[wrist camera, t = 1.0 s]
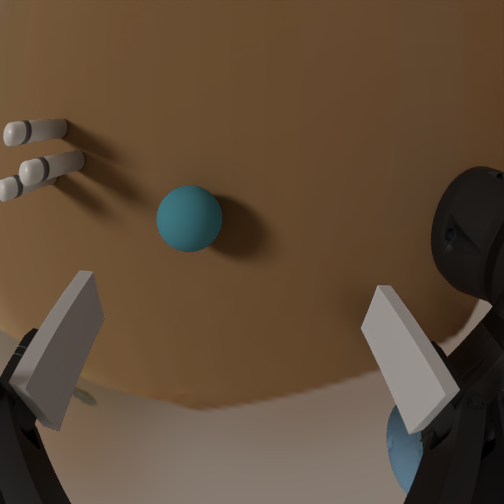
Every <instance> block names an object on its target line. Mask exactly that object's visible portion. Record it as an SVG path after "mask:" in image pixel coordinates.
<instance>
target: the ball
mask: <svg viewBox="0 0 504 504" xmlns="http://www.w3.org/2000/svg"><path fill="white" fill-rule="evenodd" d="M157 226H158V230H159V232H160V235H161V236H162V238H163V239H164V240H165V242H166V243H167V244H169V245H170V246H171V247H173V248H175V249H177V250H180V251H184V252H194V251H199V250H202V249H204V248H206V247H207V246H209V245H210V244H211V243H212V242H213V241H214V240H215V239H216V237H217V236H218V234H219V232H220V229H221V226H222V211H221V207H220V205H219V203H218V201H217V200H216V198H215V197H214V196H213V195H212V194H211V193H210V192H208V191H207V190H205V189H203V188H201V187H197V186H183V187H179V188H177V189H175V190H173V191H171V192H170V193H169V194H168V195H167V196H166V197H165V198H164V199H163V201H162V202H161V204H160V206H159V209H158V213H157Z"/></svg>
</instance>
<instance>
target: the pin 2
mask: <svg viewBox="0 0 504 504" xmlns="http://www.w3.org/2000/svg"><path fill="white" fill-rule="evenodd" d="M56 180H57V177H54V178H51V179H48V180H45V181H43V182H40V183H36V184H33V185H30V186H24V185H23V184H22V182H21V180H20V177H19V174H18V175H13V176H10V177H8V178H5V179H2V180H0V200H1V201H2V202H6V201H8V200H11V199H14V198H17V197H19V196H21V195H23V194H26V193H29V192H31V191H34V190H37V189H40V188H42V187H45V186H48V185H51V184H54V183H55V182H56Z"/></svg>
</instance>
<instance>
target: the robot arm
mask: <svg viewBox="0 0 504 504" xmlns="http://www.w3.org/2000/svg"><path fill="white" fill-rule="evenodd" d="M431 247H432V254H433V258H434V262H435V264H436V267H437V269H438V270H439V272H440V273H441V275H442V276H443V277H444V278H445V279H446V280H447V281H448V282H449V283H450V284H451V285H452V286H453V287H454V288H456V289H457V290H459V291H461V292H464V293H466V294H469V295H472V296H474V297H477V298H480V299H482V300H485V301H488V302H489V303H490V304H491V305H492V306H493V307H492V308H491V309H490V311H489V312H488V313H487V314H486V316H485V317H484V318H483V319H482V320H481V321H480V322H479V324H478V325H477V326H476V327H475V328H474V329H473V330H472V332H471V333H470V334H469V335H468V336H467V337H466V338H465V339H464V340H463V341H462V343H461V344H460V345H459V346H458V347H457V348H456V349H455V350H454V351H453V352H452V353H451V354H450V355H449V356H448V357H447V356H446V355H445V353H444V351H443V350H442V348H441V347H439V346H438V345H437V344H436V343H435V342H434V341H429V339H428V338H427V336H426V335H425V333H424V332H423V330H422V329H421V327H420V326H419V325H418V323H417V322H416V320H415V319H414V317H413V316H412V314H411V313H410V312H409V310H408V309H407V307H406V306H405V305H404V303H403V302H402V301H401V299H400V298H399V296H398V295H397V294H396V292H395V291H394V290H393V288H392V287H391V286H390V285H378V286H377V288H376V291H375V294H374V296H373V299H372V302H371V304H370V307H369V309H368V312H367V314H366V317H365V319H364V322H363V324H362V327H361V330H362V332H363V334H364V336H365V338H366V340H367V342H368V344H369V346H370V348H371V350H372V352H373V354H374V357H375V359H376V361H377V363H378V365H379V367H380V369H381V371H382V374H383V376H384V378H385V380H386V382H387V385H388V387H389V389H390V391H391V393H392V396H393V398H394V400H395V403H396V405H395V407H394V408H393V410H392V412H391V414H390V417H389V420H388V425H387V447H388V453H389V454H388V455H389V459H390V463H391V467H392V470H393V472H394V475H395V477H396V479H397V481H398V483H399V485H400V486H401V488H402V489H403V490H404V492H405V493H406V494H407V497H406V499H405V502H404V504H504V172H502V171H499V170H496V169H493V168H489V167H483V166H481V167H474V168H471V169H468V170H466V171H465V172H463V173H462V174H460V175H459V176H458V177H457V178H456V179H455V180H454V181H453V182H452V183H451V184H450V185H449V187H448V188H447V190H446V191H445V193H444V194H443V196H442V198H441V200H440V202H439V205H438V207H437V210H436V213H435V216H434V220H433V226H432V234H431ZM104 319H105V318H104V314H103V310H102V306H101V302H100V298H99V294H98V290H97V285H96V281H95V276H94V272H90V271H79V272H78V273H77V275H76V276H75V277H74V279H73V280H72V281H71V283H70V284H69V286H68V287H67V288H66V290H65V291H64V293H63V294H62V295H61V297H60V298H59V300H58V301H57V303H56V304H55V306H54V307H53V308H52V310H51V311H50V313H49V314H48V316H47V317H46V319H45V321H44V322H43V324H42V325H41V327H40V328H39V329H35V328H33V329H32V330H31V331H29V332H28V333H27V334H26V335H25V336H24V337H23V339H22V341H21V342H20V344H19V347H17V349H16V351H15V352H14V353H15V354H13V355H12V357H11V359H10V361H9V362H8V364H7V366H6V368H5V369H4V371H3V373H2V375H1V377H0V504H71V503H70V501H69V499H68V497H67V495H66V493H65V492H64V490H63V488H62V486H61V484H60V482H59V480H58V478H57V475H56V473H55V471H54V469H53V467H52V465H51V462H50V460H49V458H48V455H47V453H46V450H45V448H44V445H43V443H42V440H41V437H40V435H39V432H38V429H37V427H36V426H35V421H36V419H38V420H39V421H40V423H41V424H42V425H43V426H45V427H48V428H51V429H53V430H56V431H60V428H61V425H62V422H63V419H64V416H65V413H66V410H67V407H68V405H69V402H70V399H71V396H72V394H73V391H74V389H75V386H76V383H77V381H78V378H79V376H80V373H81V371H82V368H83V366H84V364H85V361H86V359H87V357H88V354H89V352H90V350H91V347H92V345H93V343H94V341H95V338H96V336H97V334H98V332H99V330H100V328H101V325H102V323H103V321H104Z"/></svg>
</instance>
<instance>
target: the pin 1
mask: <svg viewBox="0 0 504 504" xmlns="http://www.w3.org/2000/svg"><path fill="white" fill-rule="evenodd" d="M67 128H68V126H67V122H66V120H65V119H44V120H31V121H27V120H26V121H19V122H11V123H8V124H7V126H6V127H5V130H4V142H5V144H6V145H7V146H14V145H21V144H26V143H30V142H36V141H43V140H49V139H57V138H62V137H64V136H65V134H66V132H67Z"/></svg>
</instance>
